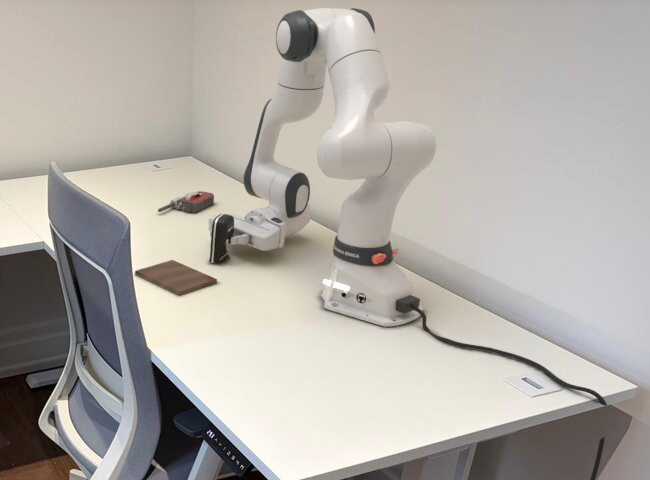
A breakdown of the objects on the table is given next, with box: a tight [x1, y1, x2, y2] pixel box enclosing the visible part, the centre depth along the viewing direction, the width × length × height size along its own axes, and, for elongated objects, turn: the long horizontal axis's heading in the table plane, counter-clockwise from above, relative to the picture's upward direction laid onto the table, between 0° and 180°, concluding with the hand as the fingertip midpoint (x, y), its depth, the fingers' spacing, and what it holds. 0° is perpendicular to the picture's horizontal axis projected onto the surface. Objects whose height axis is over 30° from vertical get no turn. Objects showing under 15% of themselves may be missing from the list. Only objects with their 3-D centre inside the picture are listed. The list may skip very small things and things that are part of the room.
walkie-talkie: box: [157, 190, 215, 214], centre depth 248 cm, size 9×4×20 cm
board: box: [134, 259, 218, 296], centre depth 203 cm, size 16×12×1 cm
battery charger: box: [209, 213, 234, 265], centre depth 211 cm, size 7×4×11 cm, turn 153°
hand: (221, 237), depth 211 cm, fingers closed on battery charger, 5 cm apart
